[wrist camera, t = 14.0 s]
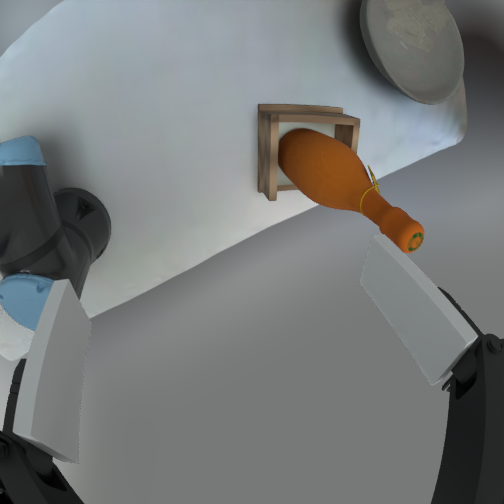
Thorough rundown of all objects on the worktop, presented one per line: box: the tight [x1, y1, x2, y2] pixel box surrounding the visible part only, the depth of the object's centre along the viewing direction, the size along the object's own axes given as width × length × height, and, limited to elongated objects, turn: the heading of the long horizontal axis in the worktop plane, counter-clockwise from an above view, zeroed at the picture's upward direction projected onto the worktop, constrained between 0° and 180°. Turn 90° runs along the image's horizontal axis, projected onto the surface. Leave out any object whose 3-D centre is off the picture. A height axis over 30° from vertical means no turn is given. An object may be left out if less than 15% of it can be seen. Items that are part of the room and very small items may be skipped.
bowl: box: [360, 0, 464, 105], centre depth 33 cm, size 26×26×10 cm
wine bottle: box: [278, 128, 424, 253], centre depth 35 cm, size 10×10×30 cm
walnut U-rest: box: [258, 104, 360, 201], centre depth 45 cm, size 16×16×7 cm
